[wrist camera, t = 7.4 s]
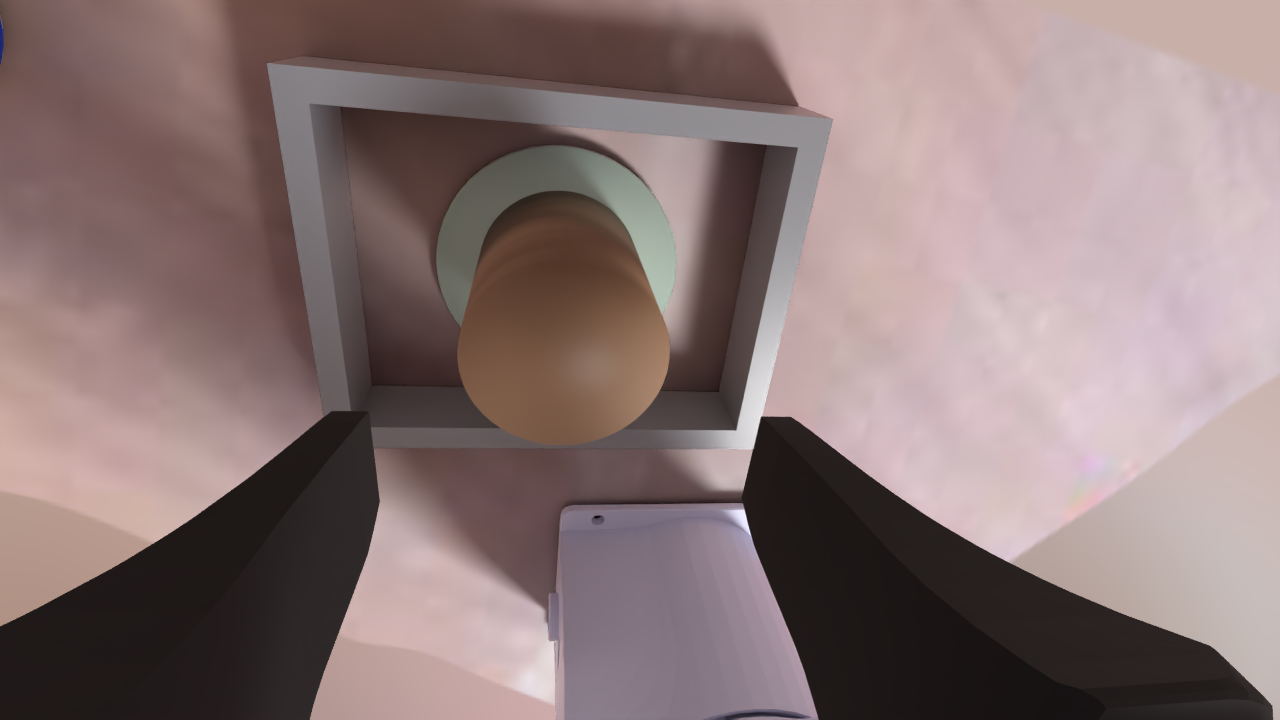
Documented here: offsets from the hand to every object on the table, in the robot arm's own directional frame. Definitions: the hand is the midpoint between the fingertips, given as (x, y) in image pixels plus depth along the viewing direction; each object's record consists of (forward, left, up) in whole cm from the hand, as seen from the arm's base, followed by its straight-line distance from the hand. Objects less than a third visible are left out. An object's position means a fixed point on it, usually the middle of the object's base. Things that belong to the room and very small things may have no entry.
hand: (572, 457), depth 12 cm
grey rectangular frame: (0, 0, -10) cm, 10 cm away
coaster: (0, 0, -10) cm, 10 cm away
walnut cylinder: (0, 0, -10) cm, 10 cm away
